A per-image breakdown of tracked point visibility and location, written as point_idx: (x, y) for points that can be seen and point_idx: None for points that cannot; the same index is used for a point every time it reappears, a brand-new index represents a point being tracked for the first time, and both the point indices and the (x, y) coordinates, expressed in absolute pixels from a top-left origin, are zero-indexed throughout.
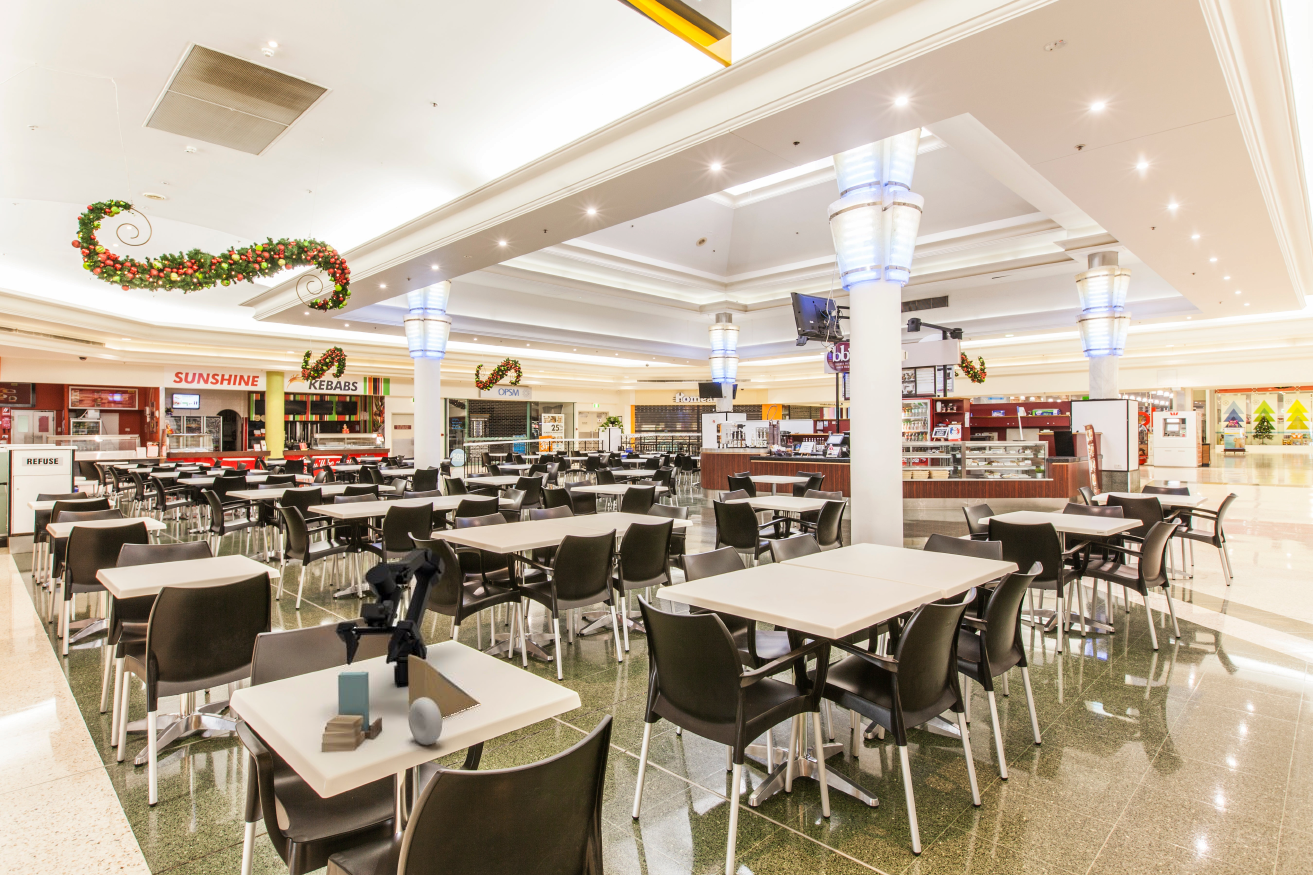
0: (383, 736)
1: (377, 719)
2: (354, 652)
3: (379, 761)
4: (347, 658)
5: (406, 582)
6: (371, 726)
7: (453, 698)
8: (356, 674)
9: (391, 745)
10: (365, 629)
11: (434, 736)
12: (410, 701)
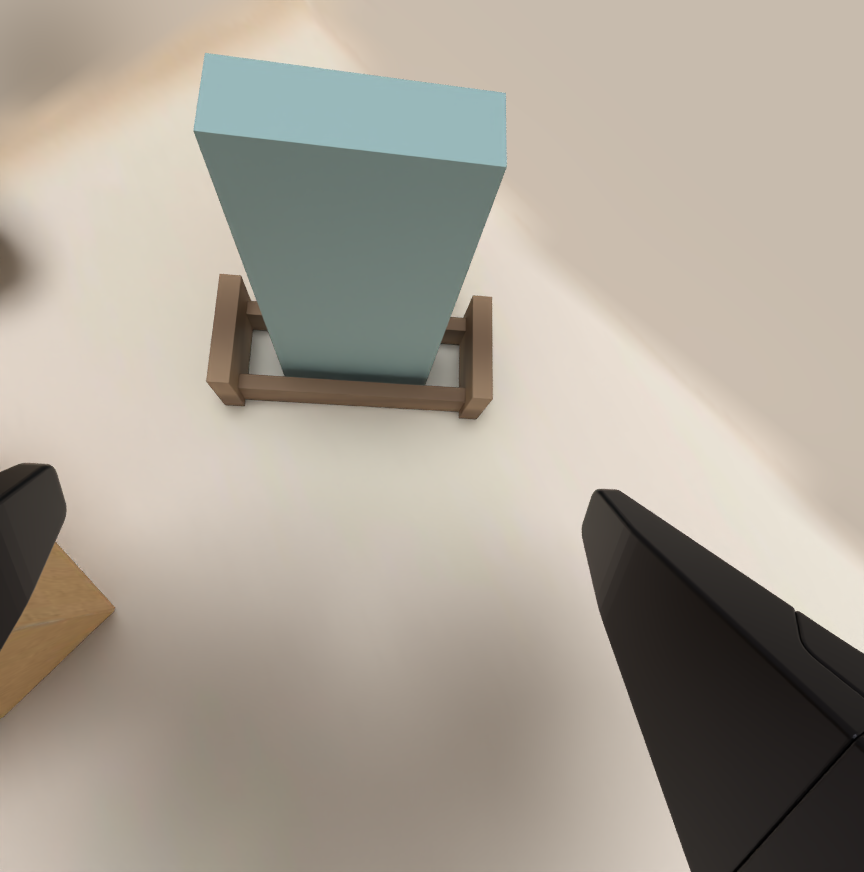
0: (195, 334)
1: (226, 357)
2: (666, 744)
3: (138, 100)
4: (648, 514)
5: None
6: (234, 277)
7: None
8: (307, 74)
9: (123, 233)
10: None
11: None
12: (53, 598)
